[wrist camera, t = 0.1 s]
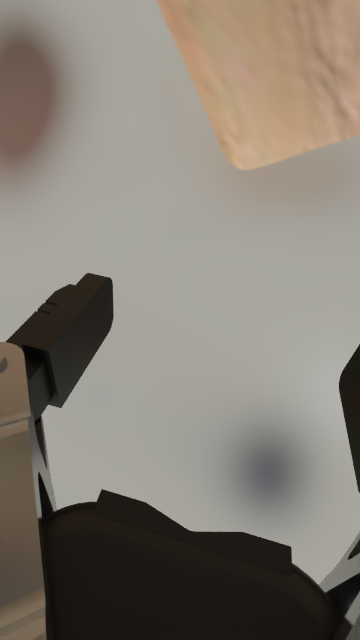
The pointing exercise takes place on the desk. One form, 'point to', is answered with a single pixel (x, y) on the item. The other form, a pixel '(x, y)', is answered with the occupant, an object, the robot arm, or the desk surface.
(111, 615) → the robot arm
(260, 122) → the desk surface
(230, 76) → the desk surface
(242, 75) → the desk surface
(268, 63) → the desk surface
